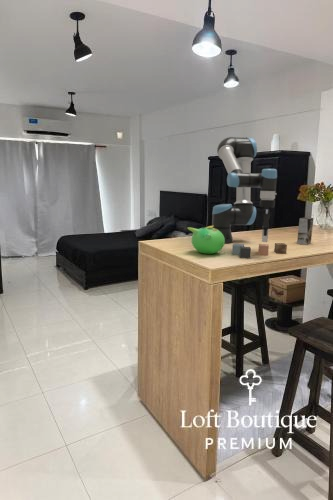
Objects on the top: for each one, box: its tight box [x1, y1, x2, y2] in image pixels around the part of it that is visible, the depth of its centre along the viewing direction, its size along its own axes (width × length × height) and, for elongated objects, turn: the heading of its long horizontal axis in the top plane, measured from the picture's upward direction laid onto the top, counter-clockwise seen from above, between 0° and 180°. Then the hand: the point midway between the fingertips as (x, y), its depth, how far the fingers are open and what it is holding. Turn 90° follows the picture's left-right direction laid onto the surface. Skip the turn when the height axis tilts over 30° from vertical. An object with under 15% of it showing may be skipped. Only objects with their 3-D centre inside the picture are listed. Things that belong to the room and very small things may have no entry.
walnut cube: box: [273, 242, 288, 255], centre depth 189 cm, size 5×5×5 cm
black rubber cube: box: [239, 246, 252, 259], centre depth 177 cm, size 5×5×5 cm
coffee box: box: [296, 217, 315, 246], centre depth 217 cm, size 9×6×16 cm
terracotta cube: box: [257, 243, 270, 256], centre depth 185 cm, size 5×5×5 cm
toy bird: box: [186, 225, 226, 255], centre depth 183 cm, size 18×17×15 cm
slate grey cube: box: [231, 243, 245, 256], centre depth 184 cm, size 5×5×5 cm
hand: (264, 240), depth 183 cm, fingers open, 13 cm apart
